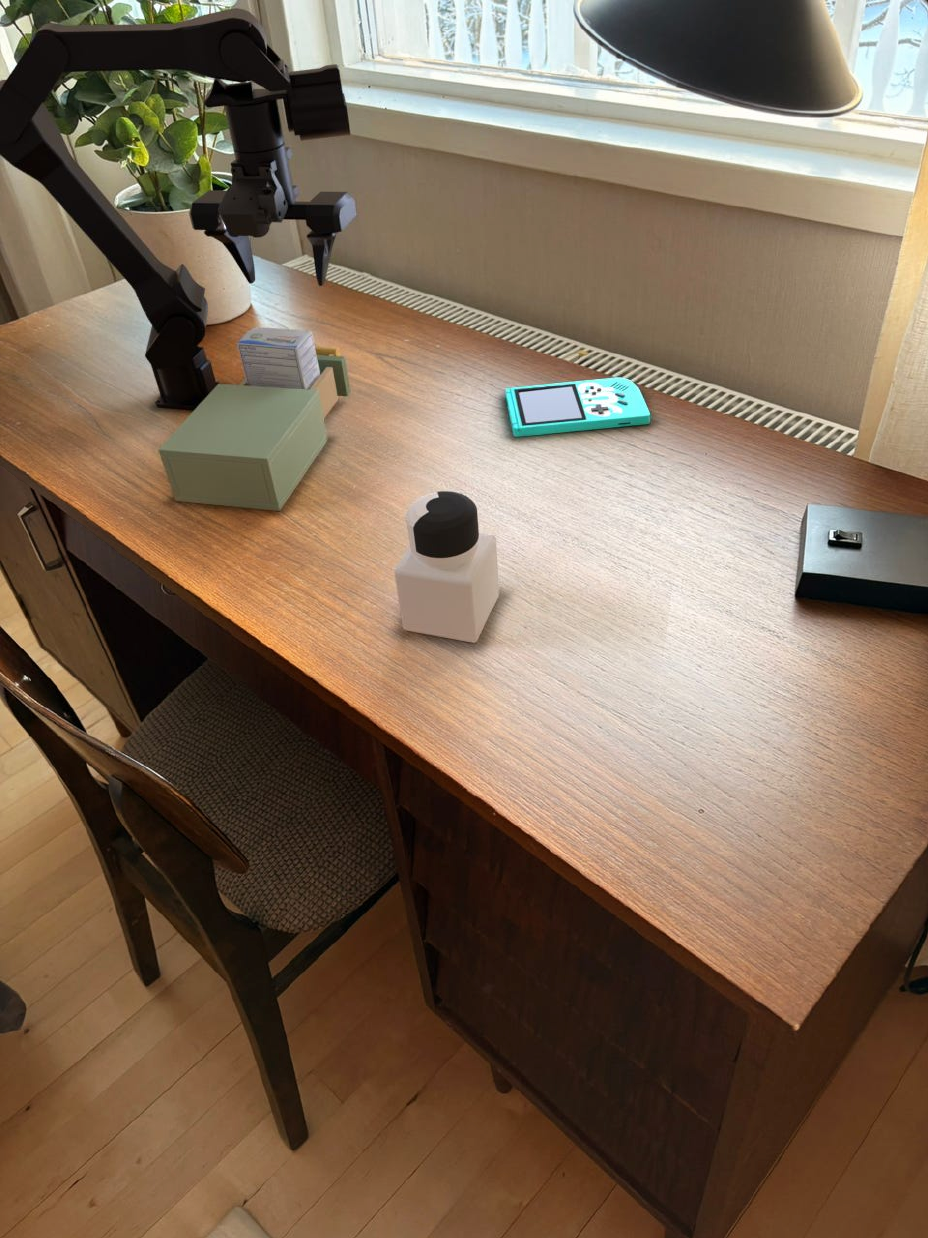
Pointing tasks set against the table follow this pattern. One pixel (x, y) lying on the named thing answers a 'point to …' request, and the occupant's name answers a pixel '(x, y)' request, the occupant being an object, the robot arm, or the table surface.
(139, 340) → the table surface
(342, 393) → the drawer
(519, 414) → the handheld game console
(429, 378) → the table surface
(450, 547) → the medicine bottle
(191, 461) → the cabinet
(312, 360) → the medicine box
